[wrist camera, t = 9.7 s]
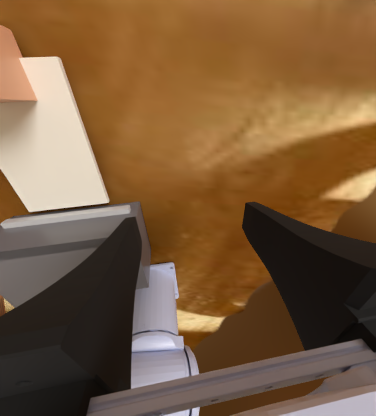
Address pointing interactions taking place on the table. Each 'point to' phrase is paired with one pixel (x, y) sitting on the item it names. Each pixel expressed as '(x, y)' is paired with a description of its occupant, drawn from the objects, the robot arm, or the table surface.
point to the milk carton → (2, 306)
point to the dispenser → (59, 246)
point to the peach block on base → (43, 134)
